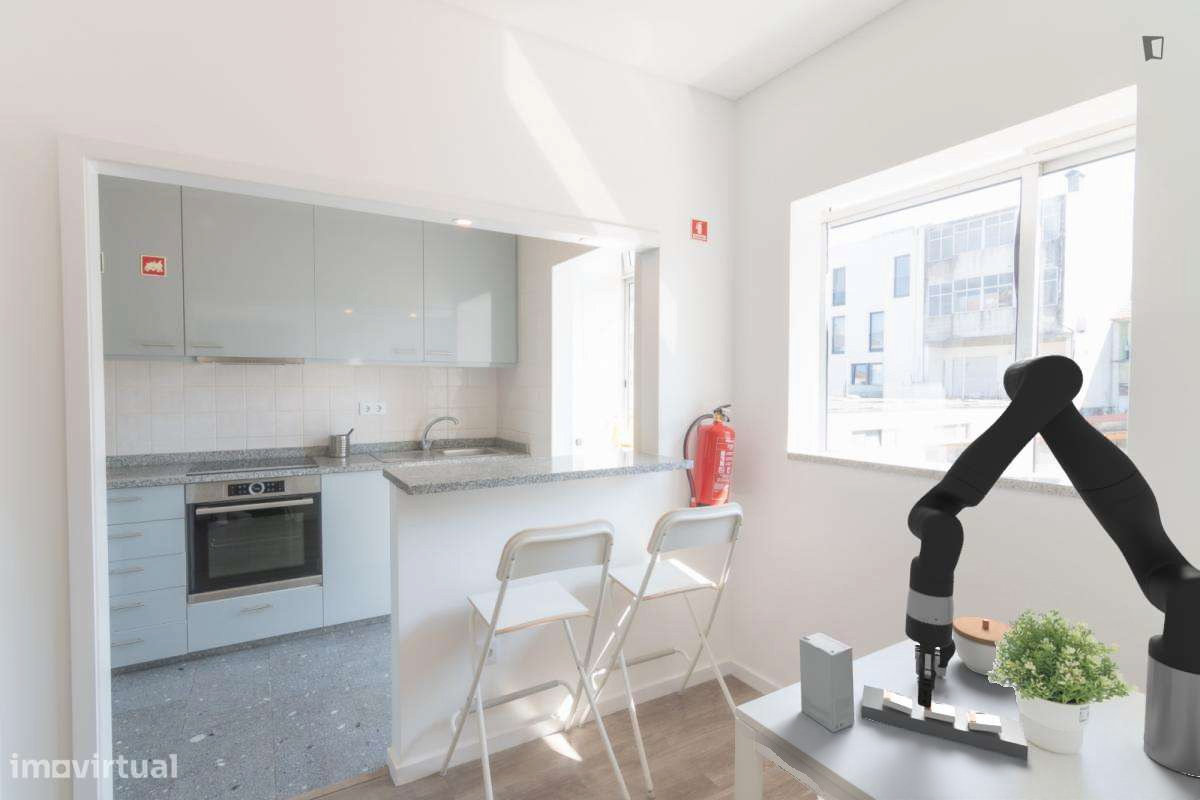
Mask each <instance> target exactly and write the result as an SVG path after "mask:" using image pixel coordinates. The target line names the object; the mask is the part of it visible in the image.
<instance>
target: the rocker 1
mask: <svg viewBox="0 0 1200 800" xmlns="http://www.w3.org/2000/svg"><path fill="white" fill-rule="evenodd" d="M883 690H884V694H883V704H884V705H887V706H889V707H892V708H895V709H897V710H900V711H903V712H905V713H908V714H911V712H912V700H911V699H908V698H905V697H903V696H900V695H897V694H895V693H892V692H893V691H892V692H889V691H890V690H887V689H883ZM886 690H887V691H886Z"/></svg>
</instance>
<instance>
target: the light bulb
mask: <svg viewBox="0 0 1200 800" xmlns="http://www.w3.org/2000/svg"><path fill="white" fill-rule="evenodd" d="M938 648H939V654H940V664H939V665H938V671H937V678H940V679H942V678H944V677H946V676H947V667H948V665H949V662H950V660H951V659H952V658H953V656H954V655H955V653H956V650H955V649H956V647H955V643H954V641H953V638H952V643H951V644H950V645H949V646H947V647H938Z"/></svg>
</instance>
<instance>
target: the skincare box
mask: <svg viewBox="0 0 1200 800" xmlns="http://www.w3.org/2000/svg"><path fill="white" fill-rule="evenodd" d="M853 661H854V660H853V647H852V646H850V645H847V644H845V643H843V642H842V641H838V640H837V639H834V638H832V637H830V636H828V635H827V634H824V633H822V632H816V633H814V634H810V635H807V636H804V637H802V638H800V639H799V663H800V664H799V665H800V668H799V670H800V699H801V701H800V703H801V706H800V707H801V712H803V713H804V714H806V715H807V716H808V717H810V718H812V719H813V720H814V721H816V722H817V723H819V724H821V725H822V726H824V727H825V729H828V730H829V731H831V732H833V733H834V732H835V733H836V732H837V731H840V730H842V729H846V728H849V727H851V725H852V726H854V725H855V703H854V702H855V701H854V700H855V699H854V695H855V694H854V693H855V692H854V667H853V665H854V664H853Z"/></svg>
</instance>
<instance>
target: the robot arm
mask: <svg viewBox="0 0 1200 800" xmlns="http://www.w3.org/2000/svg"><path fill="white" fill-rule="evenodd" d="M1083 383H1084V374H1083V371H1082V369H1081V367H1080V365H1079V364H1078V363H1077V362H1076V361H1075V360H1073V359H1072V358H1070V357H1067V356H1064V355H1060V354H1042V355H1036V356H1028V357H1023V358H1020V359H1018V360H1016V361H1013V362H1012V363H1010V364H1009V366H1008V367H1007V368H1006V369H1005V371H1004V374H1003V383H1002V384H1003V388H1004V391H1005V393H1006V395H1007V397H1008V398H1009V399H1010V402H1009V405H1007V407H1006V408H1005V410H1004V411H1003V412H1002V414H1000V416H999V417H998V418H997V419H996V420H995V421H994V422H993V423H992V424H991V425H990V426H989V427H988V428H986V430H985V431H983V432H982V433H981V434H980V435H979V436H978V437H976V438H975V439H974V440H973V441H972V442H971V443H970V444H969V445H968V446H967V447H966V448H965V449H964V450H962V452H961V454H959V456H958V457H957V459H956V460H954V463H953V464H952V465H951V467H950V468H949V469H948V470H947V472H946V474H945V475H944V476H943V477H942V479H941V480H940V481H939V482H938V483H937V484H936V485H934V486H933V487H932V488H930V490H928V491H927V492H926V493H925V494H924V495H923V496H922V497H921V498H919V500H917V501H916V502H915V503H914V505H913V506H912V508H911V510H910V511H909V513H908V517H907V527H908V529H909V531H910V532H911V534H912V535H913V536H915V537H916V538H917V539H919V540H920V550H919V554H918V555H916V556H914V557H913V558H912V560H911V563H910V569H909V583H908V585H909V587H908V592H907V597H906V609H905V610H906V611H905V629H904V630H905V631H904V632H905V635H906V636H907V637H908V639H910V640H912V641H913V642H914V643H915V644H914V659H915V674H916V675H917V676H916V679H917V681H916V683H917V686H918V687H917V697H918V704H919V705H920V706H924V707H928V708H930V707H931V702H932V701H933V699H932V698H933V697H932V696H933V691H934V690H935V689H936V686H935V683H936V679H937V678H938V677H937V671H938V665H939V664H940V654H939V648H938V647H947V646H949V645H950V644H951V643H952V639H953V621H954V611H955V608H954V606H955V604H954V588H955V587H954V585H955V584H954V583H955V570H956V567H957V565H958V562H959V560H960V557H961V553H962V551H963V546H964V541H965V540H964V539H965V534H964V527H963V525H962V523H961V520H960V519H959V518H958V517H957V515H958V514H959V513H961V511H963V510H964V509H965V508H975V507H976V506H978V505H979V504H980V503H981V502H983V500H984V499H985V497H986V496H987V495H988V493H989V492H990V491H991V489H993V487H994V486H995V484H997V482H998V480H999V479H1000V478H1001V476H1002V475H1003V474H1004V472H1006V470H1007V469H1008V467H1009V466H1010V465H1011V464H1012V462H1013V461H1014V460H1015V458H1016V457H1017V456H1018V455H1019V454H1020V453H1021V452H1022V451H1023V449H1024V448H1025V447H1026V446H1027V445H1028V444H1029V443H1030V442H1031V441H1032V439H1034V438H1035V437H1036V435H1040V436H1041V438H1042V439H1043V441H1044V442H1045V444H1046V445H1047V447H1048V449H1049V450H1050V453H1052V455H1053V457H1054V458H1055V460H1056V462H1057V463H1058V464H1059V465H1060V467H1061V469H1062V471H1063V472H1064V473H1065V475H1066V476H1067V478H1068V480H1069V481H1070V483H1071V484H1072V486H1073V488H1074V489H1075V491H1076V492H1077V493H1078V495H1079V496H1080V498H1081V500H1082V501H1083V502H1084V503H1085V505H1086V506H1087V508H1088V509H1089V511H1090V512H1091V513H1092V514H1093V516H1094V517H1095V519H1096V520H1097V522H1098V523H1099V524H1100V525H1101V528H1102V529H1104V531H1105V532H1106V533H1107V535H1108V536H1109V537H1110V538H1111V540H1112V541H1113V542H1114V544H1115V545H1116V546H1117V548H1118V549H1119V551H1120V552H1121V555H1122V556H1123V558H1124V560H1125V562H1126V563H1127V565H1128V567H1129V568H1130V571H1131V573H1132V575H1133V577H1134V579H1135V581H1136V582H1137V585H1138V587H1139V588H1140V590H1141V592H1142V593H1143V595H1144V597H1145V598H1146V600H1147V601H1148V602H1149V603H1150V604H1151V605H1152V606H1153V607H1155V609H1157V610H1158V611H1160V612H1162V613H1163V614H1164V621H1163V629H1162V630H1163V631H1162V634H1156V635H1153V636H1151V637H1150V638H1149V640H1148V643H1147V644H1148V646H1147V648H1148V649H1147V665H1146V666H1147V667H1146V689H1145V690H1146V691H1145V708H1144V710H1145V711H1144V730H1143V731H1144V732H1143V751H1144V752H1145V754H1146V755H1147V756H1148V757H1150V758H1151V759H1152V760H1154V761H1155V762H1156V763H1158V764H1160V765H1161V766H1163V767H1166V768H1168V769H1169V768H1170V770H1172V769H1173V770H1172V771H1174V770H1175V771H1174V772H1177V771H1179V772H1183V773H1186V774H1190V775H1194V776H1200V569H1198V568H1196V567H1195V566H1194V565H1193V564H1192V563H1191V562H1190V561H1188V560H1187V558H1186V557H1185V556H1184V555H1183V553H1181V551H1180V550H1179V548H1178V547H1177V546H1176V545H1175V543H1173V541H1172V540H1171V538H1170V537H1169V535H1168V534H1167V532H1166V531H1165V529H1164V526H1163V524H1162V518H1161V515H1160V508H1159V505H1158V502H1157V497H1156V496H1155V493H1154V491H1153V489H1152V488H1151V486H1150V485H1149V482H1148V481H1147V480H1146V479H1145V477H1144V476H1143V474H1142V473H1141V471H1140V470H1139V468H1138V467H1137V465H1136V464H1135V463H1134V461H1132V459H1131V458H1130V457H1129V456H1128V455H1127V454H1126V452H1124V451H1123V450H1122V449H1120V447H1118V446H1117V444H1115V443H1114V442H1113V441H1112V440H1110V439H1109V438H1108V437H1107V436H1106V435H1104V434H1103V433H1102V432H1100V431H1099V430H1098V429H1097V428H1096V427H1095V426H1093V425H1092V424H1091V423H1090V422H1089V421H1088V420H1087V419H1085V417H1084V416H1083V415H1082V413H1081V412H1080V410H1079V409H1078V408H1077V407H1076V405H1075V403H1074V401H1073V400H1074V399H1075V398H1076V397H1077V396H1078V395H1079V393H1080V391H1081V390H1082V387H1083ZM1179 772H1178V773H1179ZM1186 774H1185V775H1186Z"/></svg>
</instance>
